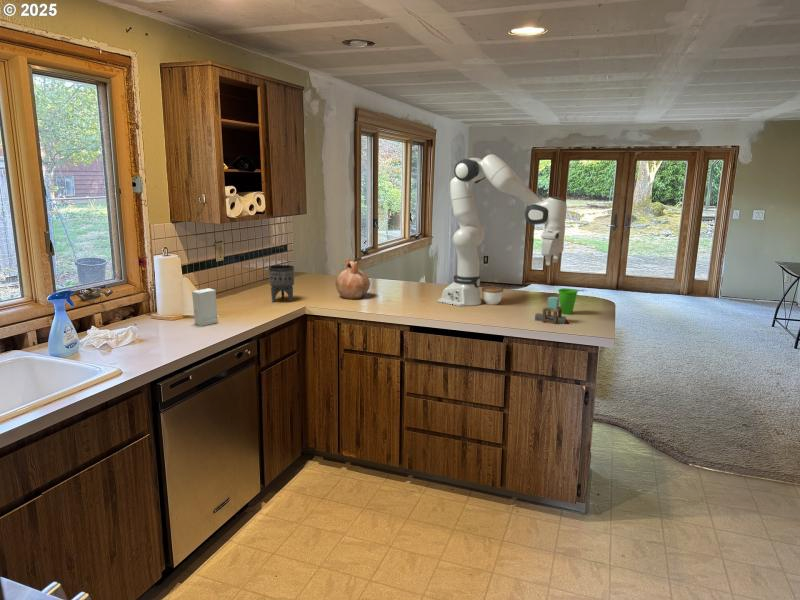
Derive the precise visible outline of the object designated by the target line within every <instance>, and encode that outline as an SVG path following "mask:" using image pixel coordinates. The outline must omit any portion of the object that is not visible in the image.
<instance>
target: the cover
mask: <svg viewBox="0 0 800 600" xmlns="http://www.w3.org/2000/svg"><path fill="white" fill-rule="evenodd" d="M552 312H553V314H552ZM542 314H543V319H542V321H541V322H542V323H547V324H552V325H556V324H558V323H557V316H562V315H563V314H562V307H560V306H559V308H557V309H551V308H547V306H545V307H543V309H542ZM546 314H547V315H553V320H551V319H546Z"/></svg>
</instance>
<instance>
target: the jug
mask: <svg viewBox="0 0 800 600" xmlns="http://www.w3.org/2000/svg"><path fill="white" fill-rule="evenodd" d="M344 263H345V269H344V270H342V271H341V272H340V273H338V275H337V277H336V278H335V287H336V288H335V289H336V291H337V293H338V294H339V295H340V297H341V298H342V299H344V298H346V300H359V299H358V298H360V299H363V298H364V296H366V294H367V293H368V292H369V290H370V285H371V281H370V278H369V277H368V275H367V274H366V273H365V272H364V271H363V270H362V269H359V267H358V265H359V262H358V261H353V260H351V259H350V258H345V261H344Z"/></svg>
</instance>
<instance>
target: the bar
mask: <svg viewBox="0 0 800 600" xmlns="http://www.w3.org/2000/svg"><path fill="white" fill-rule="evenodd" d="M553 315H554V314H551V315H548V313H546V319H551V320H553ZM542 319H543V313H540V312H539V313H538V312H537V313H535V314H534V321H535V322H536V321H537V322H542ZM566 323H567V316H562V315H561V316H558V315H557V323H556V324H559V325H560V324H561V325H565V324H566Z"/></svg>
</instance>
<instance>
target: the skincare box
mask: <svg viewBox="0 0 800 600" xmlns="http://www.w3.org/2000/svg"><path fill="white" fill-rule="evenodd" d="M191 293H192V294H191V295H192V304H193V305H192V306H193V307H192V308H193V317H194V319H193V320H194V324H196V325H197V326H199V327H204V326H208V325H209V326H210V325H213V324H216V323H219V320H218V307H217V306H218V305H217V294H216V293H217V292H216V289H213V288H210V287H209V288H208V287H207V288H203V289H197V290H191Z"/></svg>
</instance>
